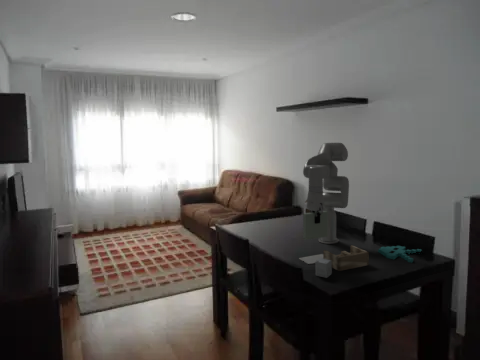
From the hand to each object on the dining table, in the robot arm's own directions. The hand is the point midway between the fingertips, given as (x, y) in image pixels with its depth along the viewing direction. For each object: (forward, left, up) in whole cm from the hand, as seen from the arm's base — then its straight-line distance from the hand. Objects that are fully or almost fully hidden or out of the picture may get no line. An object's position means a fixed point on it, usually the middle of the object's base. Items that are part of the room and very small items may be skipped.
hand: (315, 222), depth 202 cm
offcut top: (+13, +11, -17) cm, 24 cm away
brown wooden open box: (+13, +10, -21) cm, 27 cm away
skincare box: (+20, -9, -21) cm, 31 cm away
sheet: (0, 0, -8) cm, 8 cm away
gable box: (-54, +38, -21) cm, 69 cm away
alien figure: (+13, +46, -22) cm, 53 cm away
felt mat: (0, 0, -21) cm, 21 cm away
